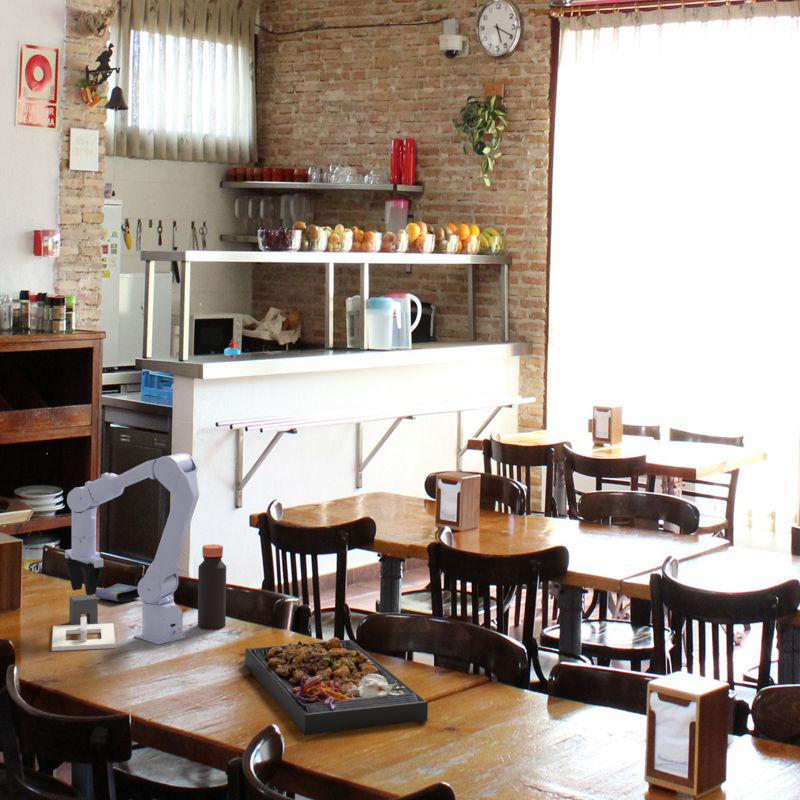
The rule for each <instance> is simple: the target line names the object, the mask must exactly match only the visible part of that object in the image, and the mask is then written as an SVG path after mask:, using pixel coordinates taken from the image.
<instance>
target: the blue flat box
mask: <svg viewBox="0 0 800 800" xmlns="http://www.w3.org/2000/svg"><path fill="white" fill-rule="evenodd" d="M137 587H138V586H134V585H129V584H124V583H123V584H122V583H116V584H113V585H111V586H109V587H106V588H104V586H103V587H102V588H97V589H96V593H95V594H94V595H95V596H96V597H97V599H102V600H107V601H108V600H109V601H113V602H118V603H119V602H120V603H121V602H130V601H133V600H134V601H135V600H137V599H138V598H141V597H140V596H139V594H138V590H137Z"/></svg>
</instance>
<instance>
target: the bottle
mask: <svg viewBox="0 0 800 800" xmlns="http://www.w3.org/2000/svg"><path fill="white" fill-rule="evenodd" d="M223 551H224V546H223V545H222V544H216V543H215V544H214V543H213V544H205V545H204V544H203V546H202V558H203V561H202V562H201V563H200V564H199V565H198V572H197V573H198V574H197V576H198V577H197V578H198V581H197V583H198V584H197V585H198V586H197V627H198V628H199V629H202V630H207V631H208V630H211V631H213V630H220V629H223V628H225V627H226V617H227V614H226V612H227V611H226V610H227V609H226V608H227V603H226V602H227V565H226V564H225V563H224V562H223V561H222V558H223V555H224V553H223Z"/></svg>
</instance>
